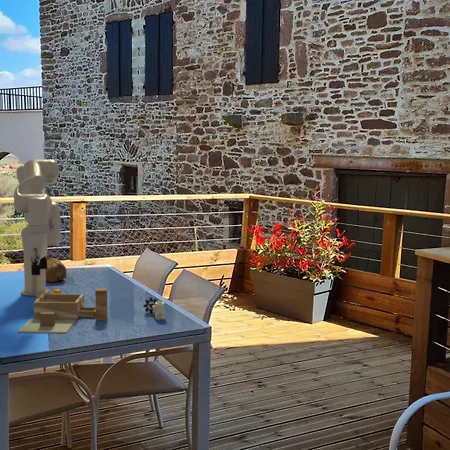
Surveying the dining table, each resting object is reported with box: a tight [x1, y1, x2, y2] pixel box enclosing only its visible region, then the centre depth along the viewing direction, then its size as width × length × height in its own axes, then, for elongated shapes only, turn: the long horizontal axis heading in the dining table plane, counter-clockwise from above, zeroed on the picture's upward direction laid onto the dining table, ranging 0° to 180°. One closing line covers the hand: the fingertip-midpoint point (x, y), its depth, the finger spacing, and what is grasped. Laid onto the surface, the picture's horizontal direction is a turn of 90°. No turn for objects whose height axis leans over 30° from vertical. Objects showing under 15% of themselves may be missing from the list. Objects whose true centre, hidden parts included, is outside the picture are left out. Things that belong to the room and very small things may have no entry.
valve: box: [143, 297, 166, 321], centre depth 250 cm, size 7×7×12 cm
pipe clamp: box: [36, 288, 62, 300], centre depth 261 cm, size 12×4×6 cm, turn 154°
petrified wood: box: [46, 257, 67, 283], centre depth 312 cm, size 19×13×10 cm
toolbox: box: [33, 293, 96, 321], centre depth 249 cm, size 14×24×7 cm, turn 91°
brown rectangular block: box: [94, 288, 108, 321], centre depth 244 cm, size 4×4×12 cm
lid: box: [17, 312, 77, 334], centre depth 233 cm, size 15×18×6 cm
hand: (39, 271), depth 238 cm, fingers open, 9 cm apart
